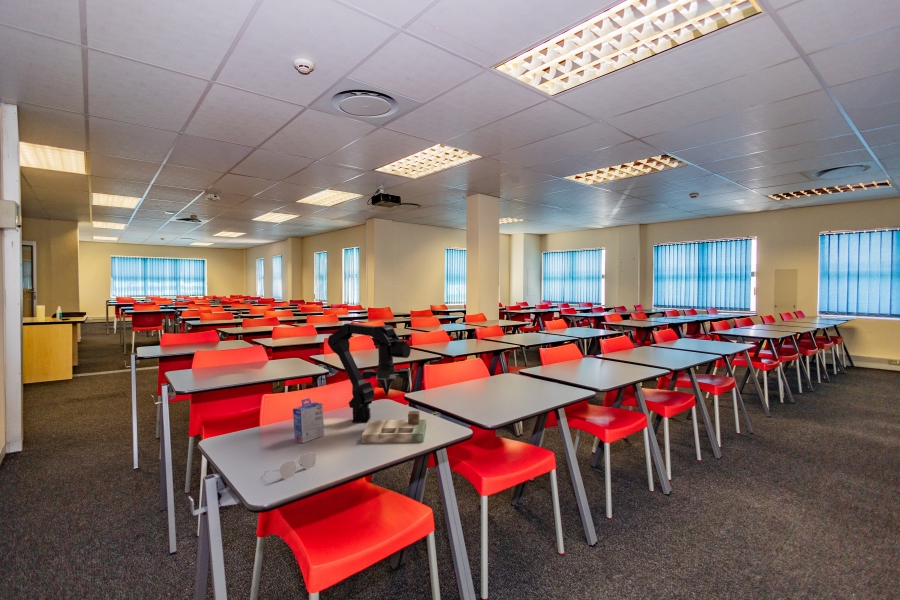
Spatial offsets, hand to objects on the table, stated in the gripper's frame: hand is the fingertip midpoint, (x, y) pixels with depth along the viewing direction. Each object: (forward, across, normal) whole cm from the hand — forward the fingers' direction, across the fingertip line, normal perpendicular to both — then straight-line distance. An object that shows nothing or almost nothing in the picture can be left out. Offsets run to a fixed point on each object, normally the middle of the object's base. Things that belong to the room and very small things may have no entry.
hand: (386, 395), depth 171 cm
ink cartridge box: (+12, -27, -14) cm, 33 cm away
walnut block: (+9, +12, -8) cm, 17 cm away
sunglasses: (+13, -23, -41) cm, 49 cm away
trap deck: (+12, +5, -12) cm, 18 cm away
